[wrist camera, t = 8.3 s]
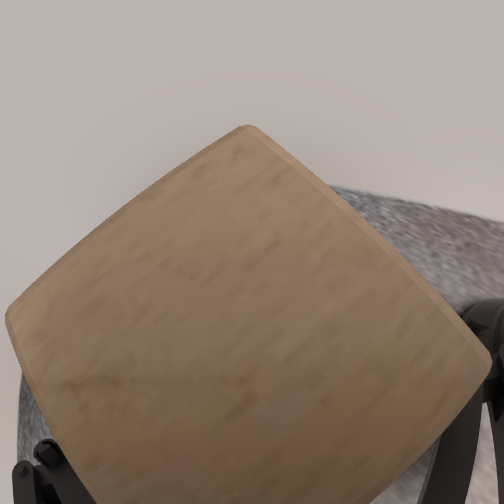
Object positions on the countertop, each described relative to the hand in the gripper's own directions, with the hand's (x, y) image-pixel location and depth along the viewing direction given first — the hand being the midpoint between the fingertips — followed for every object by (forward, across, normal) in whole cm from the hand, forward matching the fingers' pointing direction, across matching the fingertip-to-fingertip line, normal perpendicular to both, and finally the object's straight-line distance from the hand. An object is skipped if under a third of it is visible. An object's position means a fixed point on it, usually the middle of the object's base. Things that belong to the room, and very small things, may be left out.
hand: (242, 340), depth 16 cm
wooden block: (+6, 0, -9) cm, 11 cm away
